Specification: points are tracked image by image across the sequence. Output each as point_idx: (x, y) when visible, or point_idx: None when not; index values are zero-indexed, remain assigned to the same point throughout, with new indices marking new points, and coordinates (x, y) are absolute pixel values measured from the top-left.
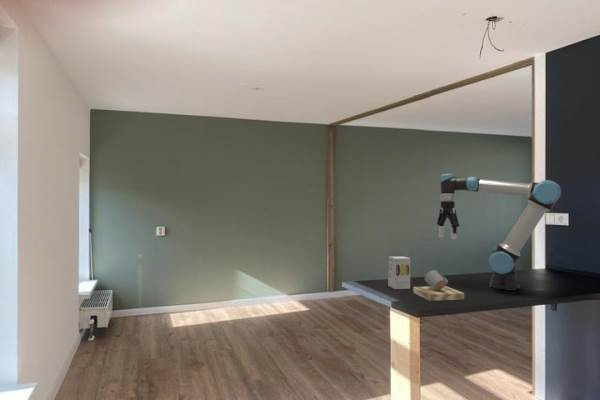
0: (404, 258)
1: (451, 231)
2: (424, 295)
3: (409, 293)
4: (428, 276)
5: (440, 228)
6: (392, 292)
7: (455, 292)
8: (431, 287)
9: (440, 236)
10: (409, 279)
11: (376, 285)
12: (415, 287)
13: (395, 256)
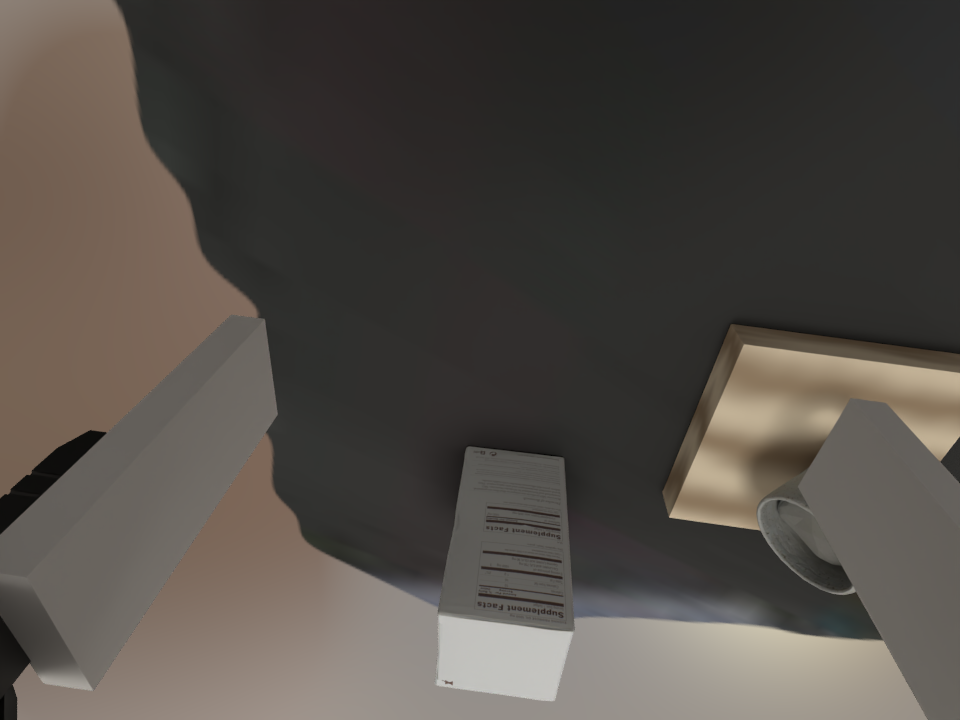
0: (565, 660)
1: (912, 668)
2: None
3: (667, 513)
4: (831, 575)
5: (146, 590)
6: (610, 559)
7: (943, 411)
8: (735, 448)
9: (267, 412)
10: (565, 502)
11: (430, 545)
12: (687, 515)
13: (452, 661)
